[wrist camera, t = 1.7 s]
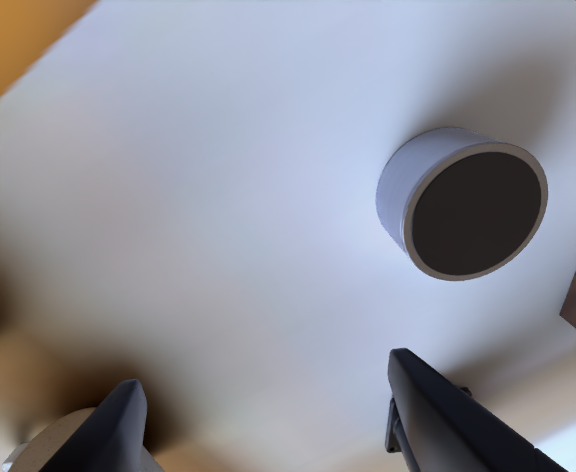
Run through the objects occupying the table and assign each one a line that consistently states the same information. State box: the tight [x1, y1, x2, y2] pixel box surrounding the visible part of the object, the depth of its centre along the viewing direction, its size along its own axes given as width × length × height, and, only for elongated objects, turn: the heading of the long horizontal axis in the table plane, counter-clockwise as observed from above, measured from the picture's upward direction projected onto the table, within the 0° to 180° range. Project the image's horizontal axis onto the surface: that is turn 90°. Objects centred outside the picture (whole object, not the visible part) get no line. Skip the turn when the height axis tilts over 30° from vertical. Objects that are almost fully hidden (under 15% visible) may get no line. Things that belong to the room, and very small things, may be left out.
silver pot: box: [376, 127, 548, 281], centre depth 19 cm, size 7×7×4 cm
